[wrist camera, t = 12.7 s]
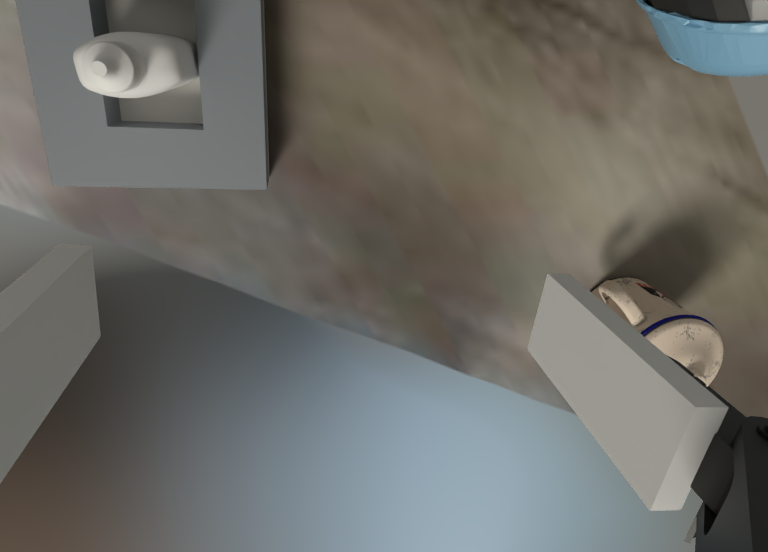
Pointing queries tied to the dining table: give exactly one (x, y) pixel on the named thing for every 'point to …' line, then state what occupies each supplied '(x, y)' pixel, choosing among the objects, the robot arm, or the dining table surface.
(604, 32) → the dining table surface
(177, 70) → the eye dropper bottle
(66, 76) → the hole block
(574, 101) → the dining table surface
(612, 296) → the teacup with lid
